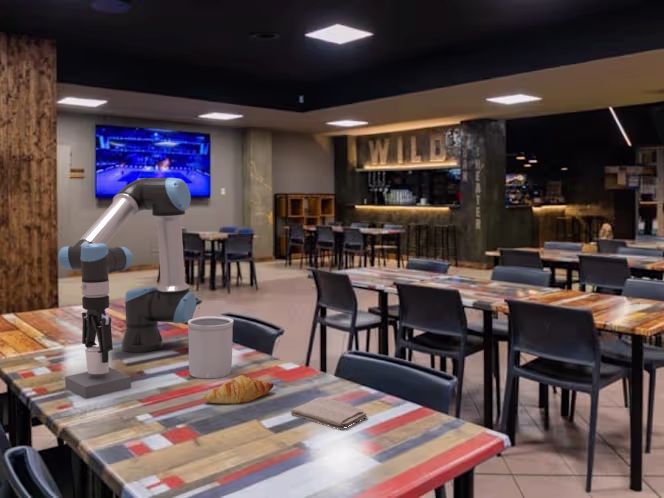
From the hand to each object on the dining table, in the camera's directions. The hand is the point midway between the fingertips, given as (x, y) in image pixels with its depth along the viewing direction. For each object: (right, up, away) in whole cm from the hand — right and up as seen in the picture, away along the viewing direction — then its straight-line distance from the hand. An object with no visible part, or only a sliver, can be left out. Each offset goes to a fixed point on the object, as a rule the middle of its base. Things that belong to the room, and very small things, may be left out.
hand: (97, 370), depth 182 cm
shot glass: (0, -1, 0) cm, 1 cm away
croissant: (+44, -7, -8) cm, 45 cm away
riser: (0, -6, 0) cm, 6 cm away
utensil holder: (+31, -4, +17) cm, 35 cm away
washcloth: (+70, -9, -22) cm, 74 cm away
